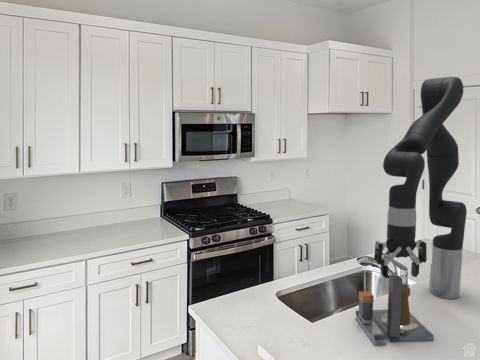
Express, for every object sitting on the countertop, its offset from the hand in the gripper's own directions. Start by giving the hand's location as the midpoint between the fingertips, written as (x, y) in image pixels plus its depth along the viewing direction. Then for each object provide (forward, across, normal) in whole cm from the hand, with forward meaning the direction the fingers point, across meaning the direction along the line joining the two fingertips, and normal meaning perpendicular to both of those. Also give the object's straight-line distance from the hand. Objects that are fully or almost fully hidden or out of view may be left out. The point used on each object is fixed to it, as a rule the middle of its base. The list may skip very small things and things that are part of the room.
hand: (399, 276), depth 111 cm
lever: (+13, +9, -1) cm, 16 cm away
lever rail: (+15, +9, +2) cm, 18 cm away
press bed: (+15, 0, 0) cm, 15 cm away
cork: (+14, 0, 0) cm, 14 cm away
